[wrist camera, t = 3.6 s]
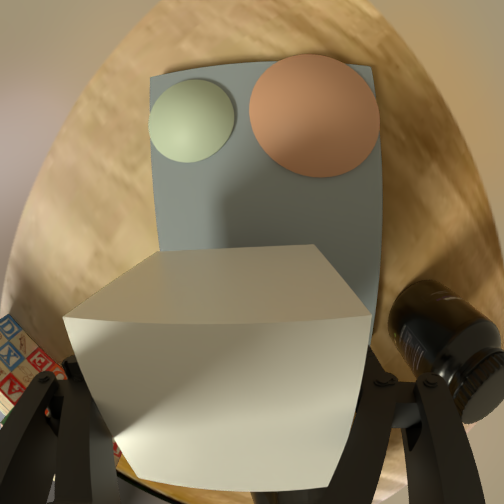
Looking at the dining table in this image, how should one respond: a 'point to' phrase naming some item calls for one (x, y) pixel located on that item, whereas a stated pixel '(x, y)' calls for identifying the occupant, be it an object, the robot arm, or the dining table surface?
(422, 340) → the supplement bottle
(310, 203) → the board
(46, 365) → the stack of blocks
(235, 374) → the plain off-white box
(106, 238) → the dining table surface
